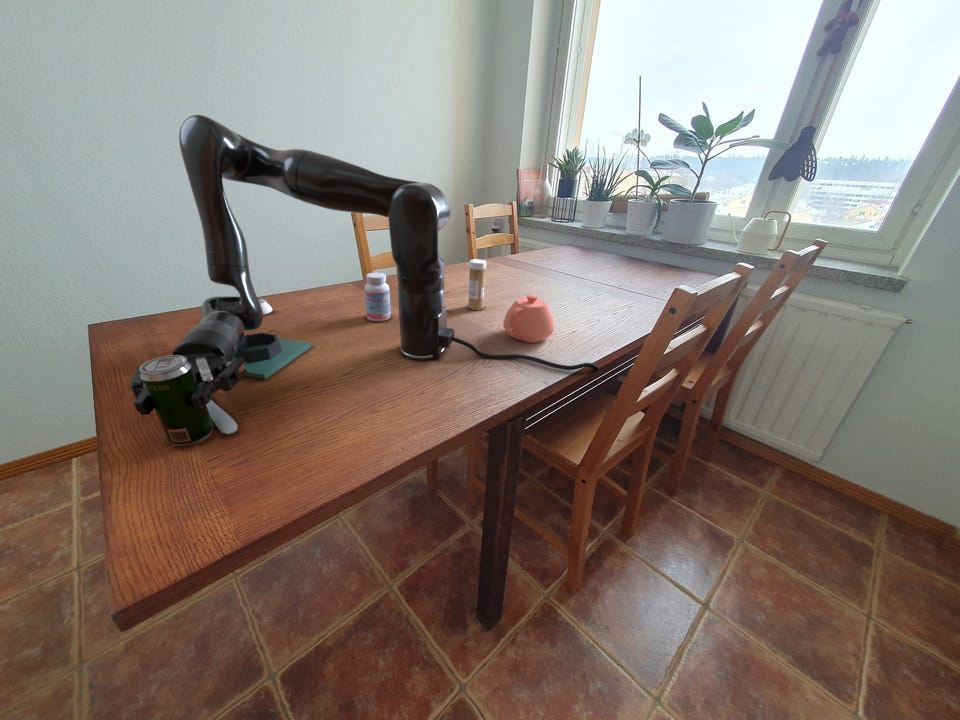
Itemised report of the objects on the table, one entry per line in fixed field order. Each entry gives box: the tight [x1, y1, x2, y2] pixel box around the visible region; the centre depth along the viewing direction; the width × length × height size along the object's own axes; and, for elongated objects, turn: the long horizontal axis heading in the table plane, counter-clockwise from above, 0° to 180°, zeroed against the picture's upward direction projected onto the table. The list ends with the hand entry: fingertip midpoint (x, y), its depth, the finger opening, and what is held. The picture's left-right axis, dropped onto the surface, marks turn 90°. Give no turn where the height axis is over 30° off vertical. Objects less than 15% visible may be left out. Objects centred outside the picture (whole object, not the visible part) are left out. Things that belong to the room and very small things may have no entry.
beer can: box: [139, 354, 214, 448], centre depth 51 cm, size 5×5×12 cm
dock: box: [232, 332, 312, 380], centre depth 75 cm, size 14×14×4 cm
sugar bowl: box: [502, 294, 555, 344], centre depth 89 cm, size 12×14×10 cm
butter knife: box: [206, 399, 238, 435], centre depth 62 cm, size 1×27×3 cm
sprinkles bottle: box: [467, 258, 487, 311], centre depth 104 cm, size 5×5×13 cm
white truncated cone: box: [258, 299, 273, 315], centre depth 95 cm, size 5×3×5 cm
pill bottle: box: [363, 272, 392, 322], centre depth 94 cm, size 6×6×11 cm
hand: (169, 406), depth 49 cm, fingers closed on beer can, 5 cm apart
